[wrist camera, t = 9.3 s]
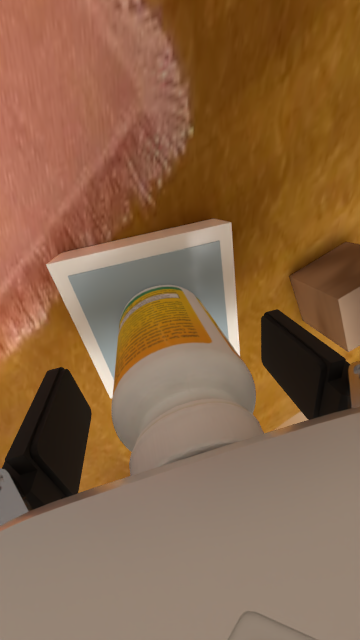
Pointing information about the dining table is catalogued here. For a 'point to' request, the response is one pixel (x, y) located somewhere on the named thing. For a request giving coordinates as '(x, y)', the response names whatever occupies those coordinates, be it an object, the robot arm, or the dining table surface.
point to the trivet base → (146, 282)
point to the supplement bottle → (177, 381)
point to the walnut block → (332, 295)
